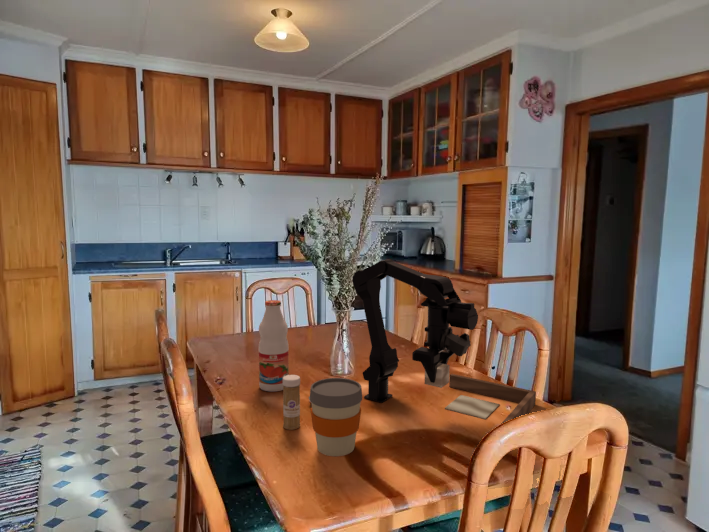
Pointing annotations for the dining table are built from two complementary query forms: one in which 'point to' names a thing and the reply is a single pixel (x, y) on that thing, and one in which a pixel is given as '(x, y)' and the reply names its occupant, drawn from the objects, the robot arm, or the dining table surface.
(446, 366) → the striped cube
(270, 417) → the dining table surface
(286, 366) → the fruit juice
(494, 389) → the corner arena
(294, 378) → the sprinkles bottle
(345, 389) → the reusable coffee cup
